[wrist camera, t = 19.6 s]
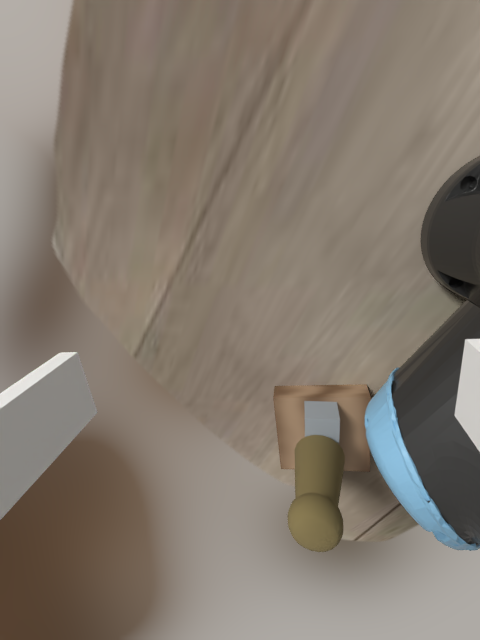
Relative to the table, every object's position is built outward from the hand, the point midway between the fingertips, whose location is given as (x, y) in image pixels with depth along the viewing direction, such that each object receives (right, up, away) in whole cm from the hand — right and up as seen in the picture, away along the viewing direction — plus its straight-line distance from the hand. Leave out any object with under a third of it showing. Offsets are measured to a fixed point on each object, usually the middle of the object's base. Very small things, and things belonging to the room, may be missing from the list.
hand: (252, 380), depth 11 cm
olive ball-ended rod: (+9, -14, +28) cm, 33 cm away
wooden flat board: (+11, -12, +35) cm, 39 cm away
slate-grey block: (+10, -13, +32) cm, 36 cm away
